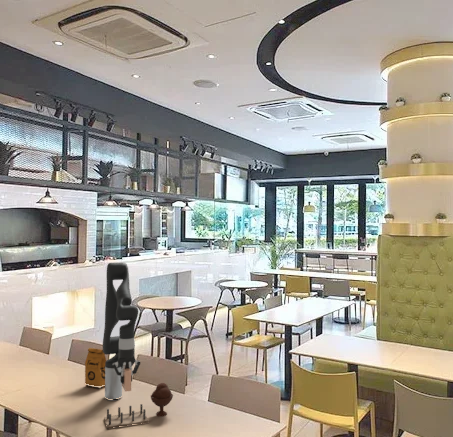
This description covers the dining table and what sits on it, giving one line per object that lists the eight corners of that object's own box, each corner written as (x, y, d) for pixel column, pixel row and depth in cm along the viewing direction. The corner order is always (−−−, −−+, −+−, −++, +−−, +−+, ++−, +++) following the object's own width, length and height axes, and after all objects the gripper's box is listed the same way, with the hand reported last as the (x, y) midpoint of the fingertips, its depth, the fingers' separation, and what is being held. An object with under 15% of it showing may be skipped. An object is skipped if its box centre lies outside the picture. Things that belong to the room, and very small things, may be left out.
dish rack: (104, 419, 222) (104, 407, 223) (143, 413, 230) (143, 402, 230) (107, 429, 211) (107, 416, 212) (148, 423, 218) (148, 411, 219)
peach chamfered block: (121, 384, 225) (121, 365, 225) (127, 384, 226) (127, 364, 226) (125, 391, 216) (125, 371, 216) (131, 390, 217) (131, 370, 217)
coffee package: (98, 390, 263) (99, 351, 263) (82, 387, 268) (82, 349, 269) (110, 385, 272) (110, 348, 272) (94, 382, 277) (94, 345, 278)
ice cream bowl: (146, 414, 229) (146, 384, 229) (164, 408, 237) (164, 379, 237) (158, 420, 221) (159, 389, 222) (177, 414, 229) (177, 384, 230)
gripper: (139, 344, 228) (139, 379, 227) (110, 346, 222) (110, 382, 222) (142, 347, 221) (142, 383, 220) (113, 350, 215) (112, 387, 215)
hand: (126, 382), depth 221 cm, fingers closed on peach chamfered block, 2 cm apart
